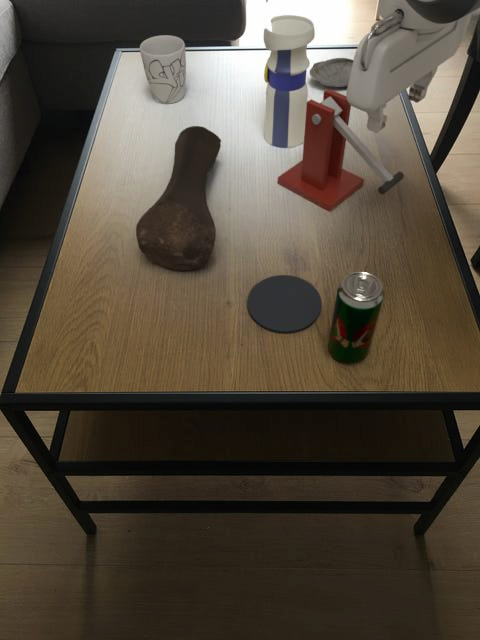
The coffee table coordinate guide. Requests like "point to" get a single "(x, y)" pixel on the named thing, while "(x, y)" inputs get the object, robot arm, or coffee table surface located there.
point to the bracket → (323, 157)
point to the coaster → (284, 304)
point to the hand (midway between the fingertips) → (396, 113)
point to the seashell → (332, 72)
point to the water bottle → (287, 79)
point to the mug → (165, 67)
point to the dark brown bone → (183, 207)
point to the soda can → (355, 317)
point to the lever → (363, 149)
